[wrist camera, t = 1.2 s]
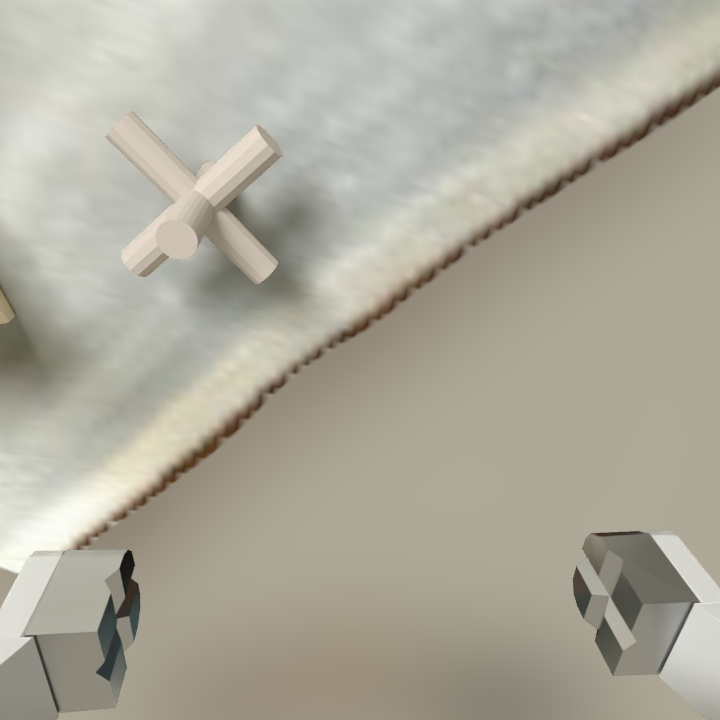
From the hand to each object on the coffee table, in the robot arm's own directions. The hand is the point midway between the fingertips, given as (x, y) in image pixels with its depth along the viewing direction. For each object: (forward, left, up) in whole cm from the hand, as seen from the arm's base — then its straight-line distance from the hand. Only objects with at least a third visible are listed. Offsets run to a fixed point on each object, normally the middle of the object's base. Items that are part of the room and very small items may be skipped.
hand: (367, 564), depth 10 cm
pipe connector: (+7, -1, -28) cm, 29 cm away
